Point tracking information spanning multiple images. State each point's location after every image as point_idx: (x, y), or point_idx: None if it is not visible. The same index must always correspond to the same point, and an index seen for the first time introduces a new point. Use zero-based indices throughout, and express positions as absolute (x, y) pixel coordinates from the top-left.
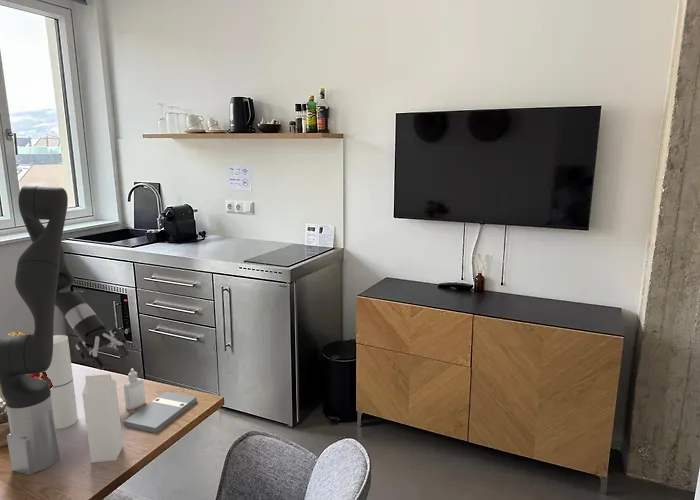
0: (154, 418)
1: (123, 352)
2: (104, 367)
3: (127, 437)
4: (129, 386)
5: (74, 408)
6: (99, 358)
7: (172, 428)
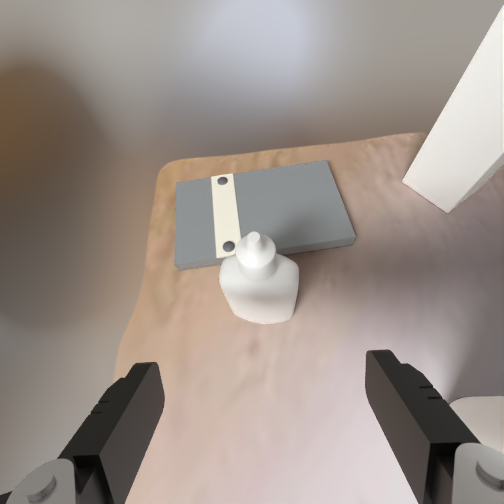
0: (300, 187)
1: (138, 403)
2: (368, 362)
3: (375, 201)
4: (289, 259)
5: (492, 402)
6: (419, 415)
7: (293, 158)
